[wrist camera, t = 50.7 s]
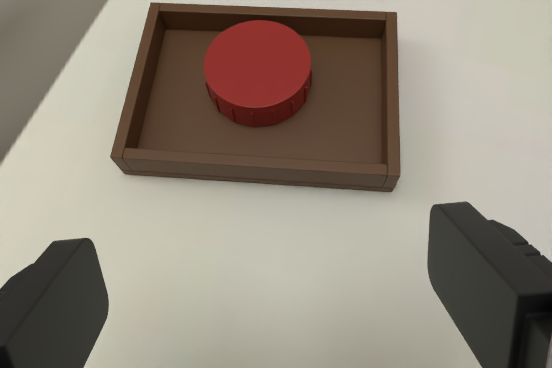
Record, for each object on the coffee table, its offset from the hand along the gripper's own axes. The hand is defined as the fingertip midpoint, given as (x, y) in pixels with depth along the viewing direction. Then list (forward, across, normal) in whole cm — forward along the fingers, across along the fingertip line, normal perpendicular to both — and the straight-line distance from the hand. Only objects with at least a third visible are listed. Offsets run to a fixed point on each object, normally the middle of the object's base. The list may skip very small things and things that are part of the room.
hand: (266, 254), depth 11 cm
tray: (+16, 0, 0) cm, 16 cm away
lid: (+15, 0, +2) cm, 15 cm away
